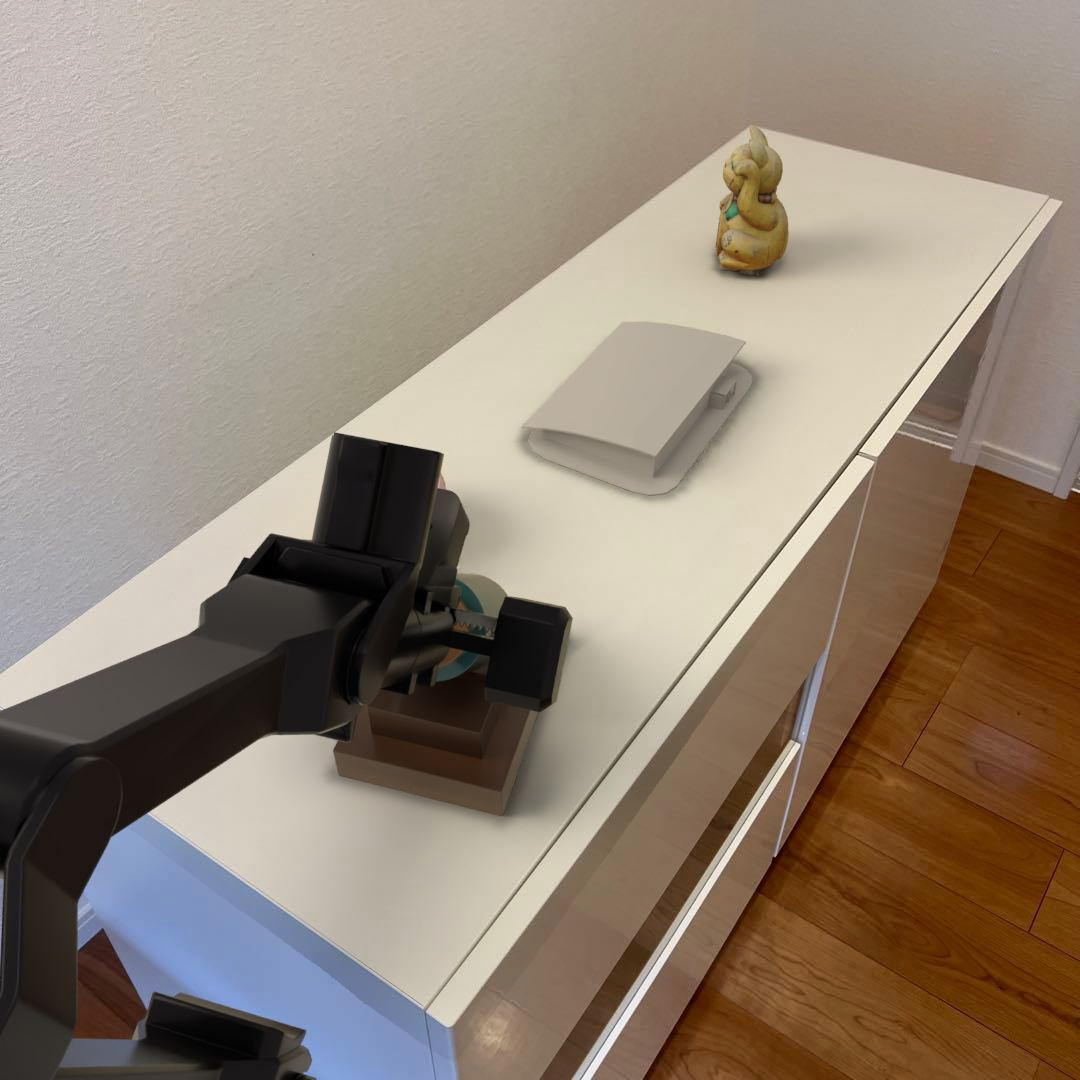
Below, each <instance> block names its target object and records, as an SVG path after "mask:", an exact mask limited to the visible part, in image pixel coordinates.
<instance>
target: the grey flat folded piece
mask: <svg viewBox="0 0 1080 1080" xmlns="http://www.w3.org/2000/svg"><path fill="white" fill-rule="evenodd" d="M746 344H747V341H746V340H743V339H741V338H736V337H733V336H730V335H727V334H724V333H723V334H722V333H718V332H714V331H709V330H705V329H700V328H694V327H691V326H690V327H689V326H684V325H679V324H674V323H664V322H655V321H621V322H620V323H619V324H618V326H617V327H616V328H615V329H613V331H612V332H611V333H610V334H608V336H607V337H606V338H604V340H603V341H602V342H601V343H600V344H599V345H598V346H597V347H596V348H595V349H594V350H593V352H592V353H590V355H589V356H588V357H587V358H586V359H585V360H584V361H583V362H582V363H580V365H579V366H578V367H577V368H576V369H575V370H574V371H573V373H571V375H570V376H568V377H567V379H566V380H564V382H563V383H562V384H561V385H560V386H559V387H558V388H557V389H556V390H555V391H554V392H553V393H552V394H551V395H550V396H549V397H548V398H547V399H546V400H545V401H544V403H543V404H542V405H541V406H539V408H537V410H536V411H535V412H534V413H533V414H532V415H531V416H530V417H529V418H528V419H527V420H526V421H525V423H523V424H522V426H521V429H527V430H528V429H530V430H531V432H530V433H529V436H528V439H527V441H526V443H527V444H528V446H529V448H530V449H531V451H532V452H533V453H534V454H536V455H538V456H539V457H541V458H543V459H544V460H547V461H549V462H552V463H555V464H558V465H561V466H563V467H566V468H567V469H571V470H574V471H577V472H579V473H581V474H584V475H586V476H589V477H592V478H595V479H598V480H599V481H602V482H606V483H608V484H611V485H613V486H616V487H619V488H621V489H624V490H627V491H629V492H632V493H636V494H641V495H646V496H656V495H665V494H667V493H669V492H670V491H672V490H674V489H675V488H676V487H678V485H679V483H680V482H681V481H682V479H683V478H684V477H685V476H686V474H687V473H688V472H689V470H690V469H691V468H692V466H693V465H694V464H695V462H696V461H697V460H698V458H699V457H700V456H701V454H702V453H703V451H704V450H705V449H706V448H707V446H708V444H709V443H710V442H711V441H712V439H713V438H714V437H715V435H716V434H717V433H718V431H719V430H720V429H721V428H722V426H723V424H724V423H725V422H726V421H727V419H728V418H729V416H730V415H731V414H732V412H733V411H734V410H735V408H737V406H738V404H739V403H740V401H742V399H743V398H744V396H745V395H746V394H747V393H748V391H749V390H750V388H751V387H752V383H753V376H752V374H751V373H750V372H749V371H748V370H747V369H746V368H744V367H742V366H740V365H738V364H736V363H734V362H732V361H733V360H734V359H735V357H736V356H737V355H738V354H739V352H740V351H741V350H742V349H743V347H744V346H745V345H746Z"/></svg>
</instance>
